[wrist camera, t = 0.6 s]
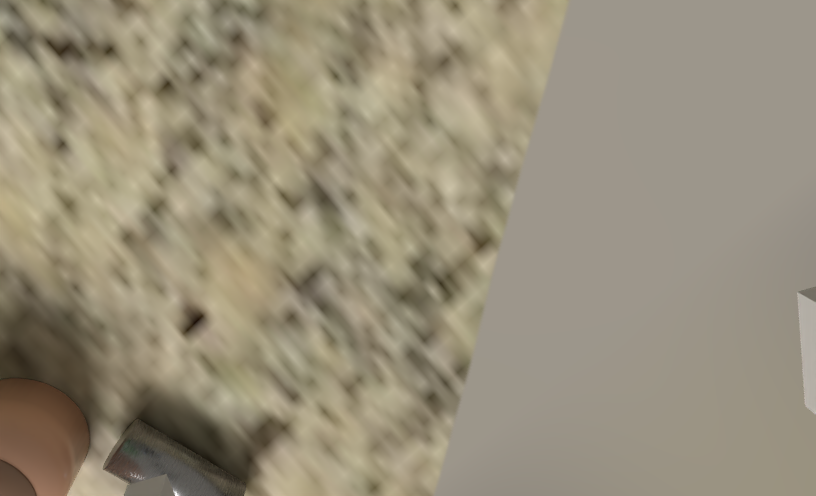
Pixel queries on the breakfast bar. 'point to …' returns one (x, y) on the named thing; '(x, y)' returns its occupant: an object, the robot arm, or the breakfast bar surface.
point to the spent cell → (168, 464)
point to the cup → (39, 439)
